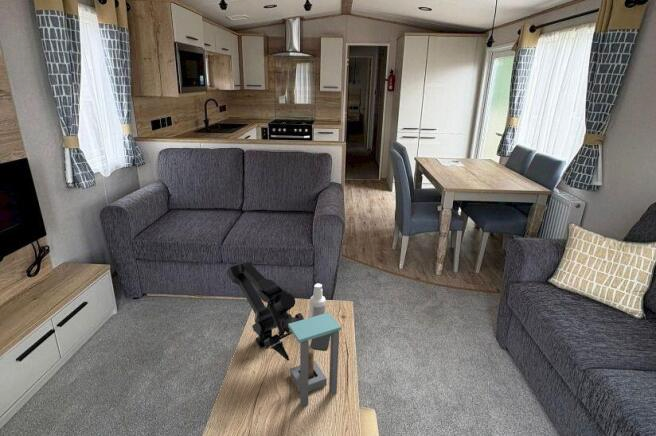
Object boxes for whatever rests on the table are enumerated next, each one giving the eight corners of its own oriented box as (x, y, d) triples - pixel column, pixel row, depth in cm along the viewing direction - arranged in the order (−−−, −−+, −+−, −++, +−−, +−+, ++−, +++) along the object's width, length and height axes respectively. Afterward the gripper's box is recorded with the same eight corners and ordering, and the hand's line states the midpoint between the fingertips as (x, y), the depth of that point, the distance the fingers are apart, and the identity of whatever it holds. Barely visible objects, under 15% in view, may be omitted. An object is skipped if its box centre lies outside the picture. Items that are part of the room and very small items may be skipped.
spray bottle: (319, 326, 168) (320, 291, 161) (307, 321, 171) (307, 286, 165) (327, 318, 173) (328, 284, 167) (315, 313, 177) (315, 279, 170)
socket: (290, 375, 140) (289, 368, 139) (314, 366, 145) (314, 360, 144) (300, 394, 132) (300, 387, 131) (326, 384, 136) (326, 378, 135)
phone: (309, 347, 154) (315, 325, 168) (309, 349, 154) (315, 326, 168) (327, 350, 153) (332, 326, 167) (327, 351, 153) (332, 328, 167)
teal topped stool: (289, 387, 135) (288, 323, 125) (326, 374, 141) (328, 312, 132) (300, 407, 127) (299, 340, 117) (339, 392, 133) (342, 327, 124)
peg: (300, 381, 138) (300, 352, 133) (306, 374, 141) (306, 345, 136) (309, 385, 136) (310, 356, 131) (315, 378, 139) (315, 349, 135)
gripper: (267, 319, 131) (287, 362, 127) (309, 300, 143) (328, 339, 139) (256, 327, 139) (274, 368, 136) (296, 308, 151) (313, 345, 147)
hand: (298, 354), depth 139 cm, fingers open, 9 cm apart
